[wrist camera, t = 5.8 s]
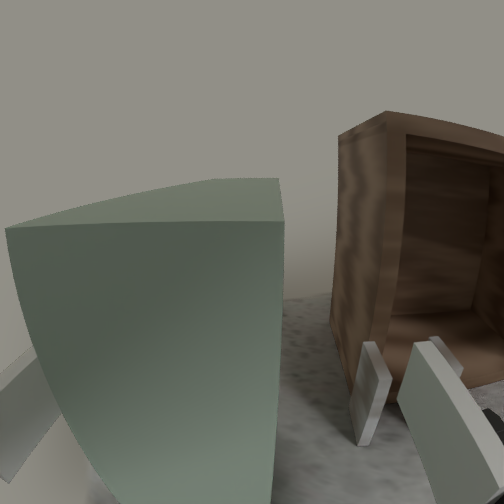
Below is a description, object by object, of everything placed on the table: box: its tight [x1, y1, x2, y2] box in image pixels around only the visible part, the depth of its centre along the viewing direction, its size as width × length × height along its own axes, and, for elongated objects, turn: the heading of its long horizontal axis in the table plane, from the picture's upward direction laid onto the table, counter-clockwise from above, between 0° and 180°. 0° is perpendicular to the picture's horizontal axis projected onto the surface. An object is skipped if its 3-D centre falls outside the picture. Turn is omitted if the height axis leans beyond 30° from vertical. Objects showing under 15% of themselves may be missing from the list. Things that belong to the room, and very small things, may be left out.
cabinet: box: [329, 111, 504, 447], centre depth 21 cm, size 18×20×20 cm
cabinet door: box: [5, 178, 284, 504], centre depth 10 cm, size 12×3×16 cm, turn 175°
